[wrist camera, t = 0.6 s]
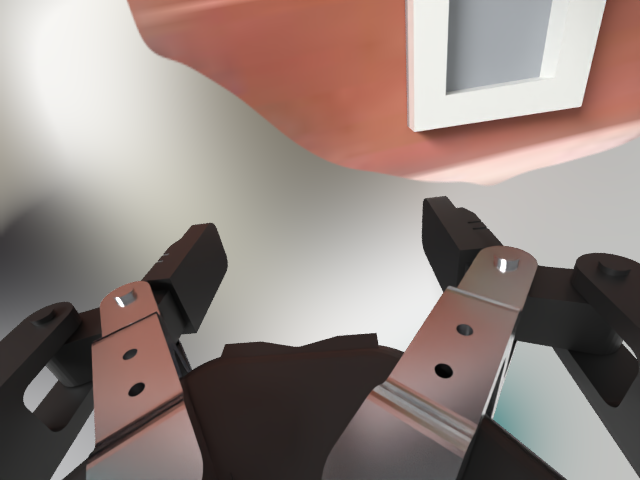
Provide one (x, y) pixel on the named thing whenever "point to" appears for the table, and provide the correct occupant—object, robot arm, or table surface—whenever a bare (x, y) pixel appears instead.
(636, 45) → the table surface
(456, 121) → the bottle stand
